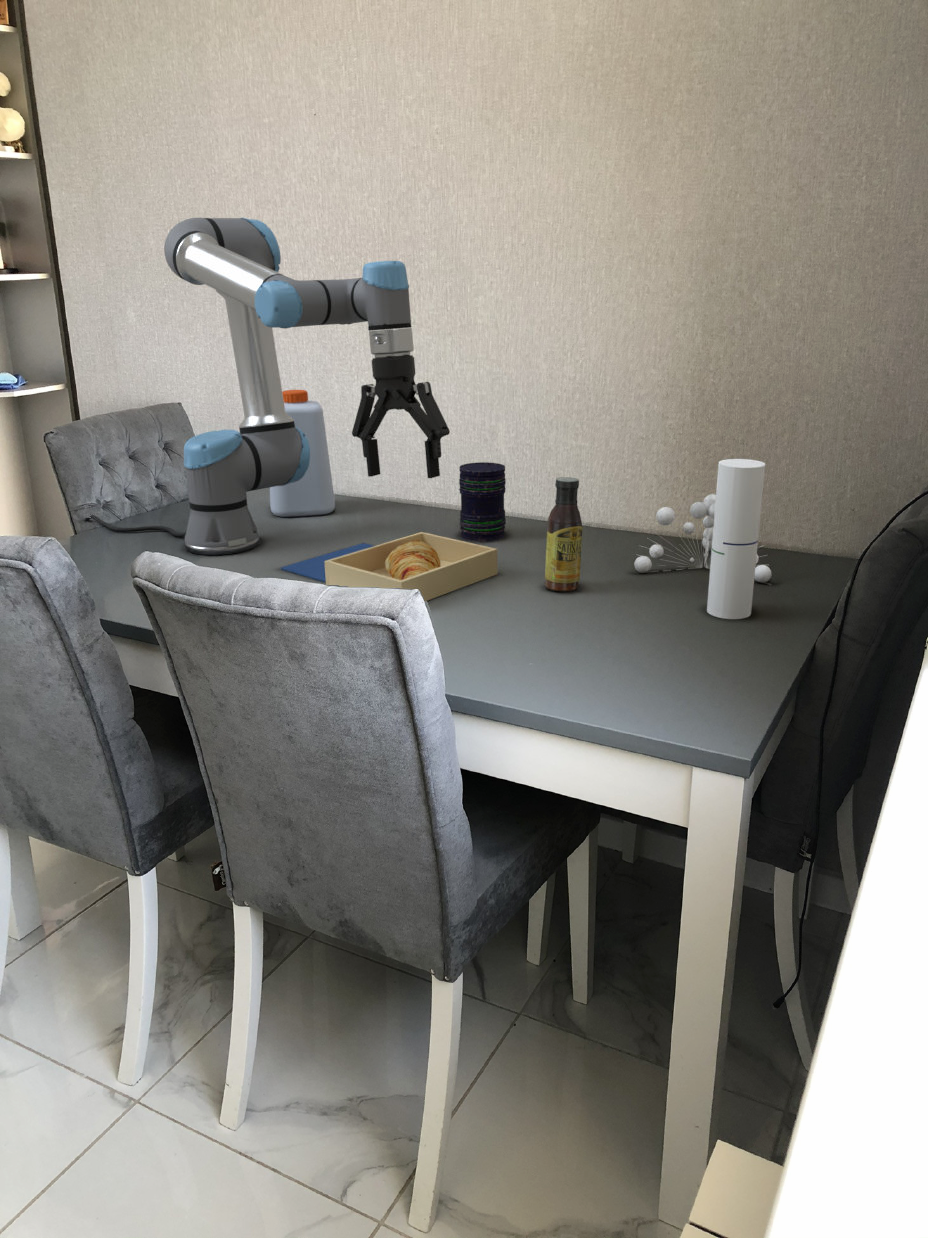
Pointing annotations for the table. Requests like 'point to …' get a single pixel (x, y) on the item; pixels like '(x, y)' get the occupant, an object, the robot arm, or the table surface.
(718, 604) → the cylindrical container
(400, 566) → the croissant
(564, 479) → the sauce bottle
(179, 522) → the table surface
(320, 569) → the cloth mat
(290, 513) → the plastic bottle
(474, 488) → the storage jar
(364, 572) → the wooden tray
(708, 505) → the decorative flower
